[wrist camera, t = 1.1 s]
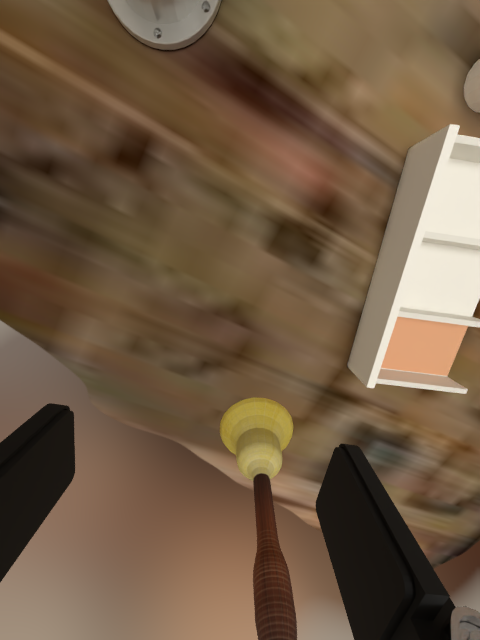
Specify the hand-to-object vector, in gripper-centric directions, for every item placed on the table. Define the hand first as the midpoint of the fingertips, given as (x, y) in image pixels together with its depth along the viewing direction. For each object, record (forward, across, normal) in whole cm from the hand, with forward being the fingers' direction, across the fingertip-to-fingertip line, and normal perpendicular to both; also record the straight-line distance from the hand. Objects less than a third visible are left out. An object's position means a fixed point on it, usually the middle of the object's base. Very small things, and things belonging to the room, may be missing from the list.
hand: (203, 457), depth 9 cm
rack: (+27, -26, -8) cm, 38 cm away
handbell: (+27, -8, +21) cm, 35 cm away
